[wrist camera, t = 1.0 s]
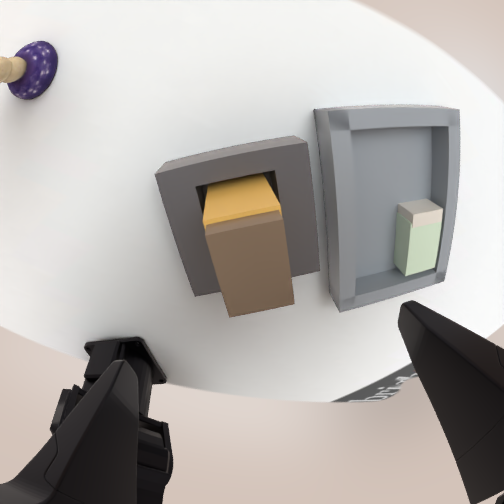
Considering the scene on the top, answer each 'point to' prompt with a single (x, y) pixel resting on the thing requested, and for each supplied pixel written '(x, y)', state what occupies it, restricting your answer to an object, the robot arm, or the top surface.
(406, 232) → the block
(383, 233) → the parts tray
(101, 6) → the top surface
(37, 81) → the toy lamp
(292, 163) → the fuse holder
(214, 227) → the block
